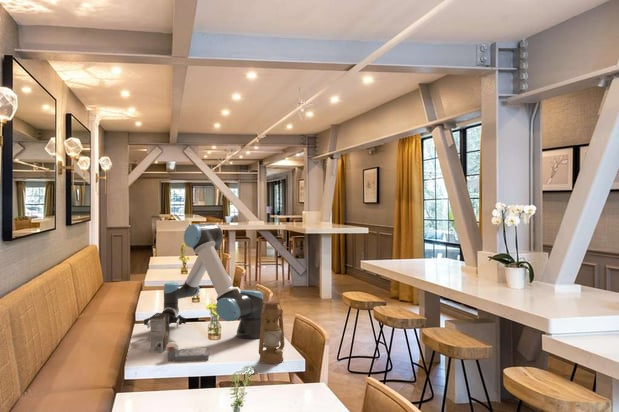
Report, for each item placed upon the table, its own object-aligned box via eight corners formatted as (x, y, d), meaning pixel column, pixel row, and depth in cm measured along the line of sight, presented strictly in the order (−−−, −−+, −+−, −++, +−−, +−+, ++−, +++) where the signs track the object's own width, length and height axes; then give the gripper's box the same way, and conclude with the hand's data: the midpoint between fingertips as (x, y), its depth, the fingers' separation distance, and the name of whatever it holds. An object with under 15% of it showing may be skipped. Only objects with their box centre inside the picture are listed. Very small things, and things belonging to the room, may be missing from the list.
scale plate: (205, 349, 227) (205, 347, 227) (204, 355, 218) (204, 353, 218) (180, 350, 226) (180, 348, 226) (178, 356, 217) (178, 354, 217)
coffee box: (156, 346, 239) (156, 312, 239) (169, 346, 239) (169, 312, 239) (149, 352, 230) (149, 316, 230) (163, 352, 230) (163, 317, 230)
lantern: (274, 367, 209) (274, 295, 209) (252, 364, 213) (252, 293, 213) (289, 357, 223) (289, 289, 223) (268, 354, 227) (268, 287, 227)
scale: (209, 353, 228) (209, 336, 228) (208, 360, 218) (208, 342, 218) (168, 355, 225) (168, 338, 225) (165, 362, 216) (165, 344, 215)
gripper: (192, 322, 267) (189, 332, 246) (143, 323, 263) (135, 333, 242) (192, 307, 267) (189, 316, 246) (143, 309, 263) (136, 318, 242)
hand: (162, 325), depth 244 cm, fingers open, 13 cm apart
